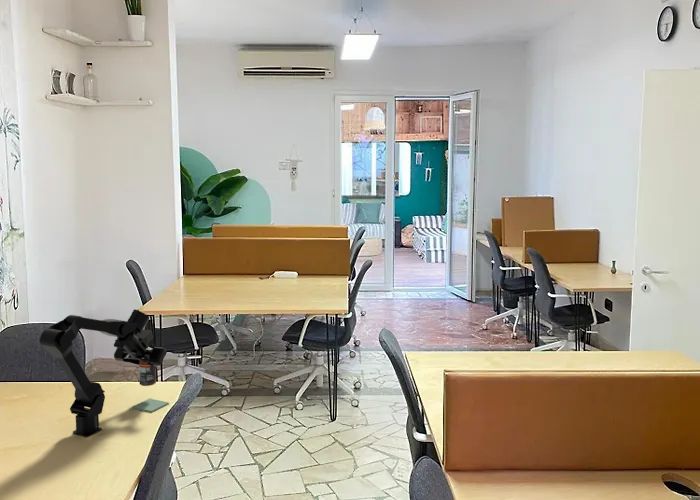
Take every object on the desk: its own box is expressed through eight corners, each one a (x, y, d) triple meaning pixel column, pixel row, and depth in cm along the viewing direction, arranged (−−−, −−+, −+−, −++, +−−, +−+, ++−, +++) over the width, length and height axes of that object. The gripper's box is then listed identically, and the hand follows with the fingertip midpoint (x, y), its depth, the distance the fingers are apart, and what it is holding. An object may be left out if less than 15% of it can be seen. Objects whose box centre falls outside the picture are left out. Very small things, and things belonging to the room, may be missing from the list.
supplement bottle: (149, 380, 239) (149, 350, 237) (159, 383, 235) (159, 353, 234) (135, 384, 234) (135, 354, 233) (145, 387, 230) (145, 357, 229)
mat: (151, 412, 224) (151, 411, 224) (132, 408, 227) (131, 406, 227) (168, 404, 232) (168, 402, 232) (149, 399, 236) (149, 398, 235)
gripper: (163, 326, 226) (180, 348, 237) (118, 321, 231) (136, 344, 242) (151, 353, 219) (168, 375, 231) (104, 348, 224) (124, 370, 236)
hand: (149, 365), depth 235 cm, fingers closed on supplement bottle, 6 cm apart
